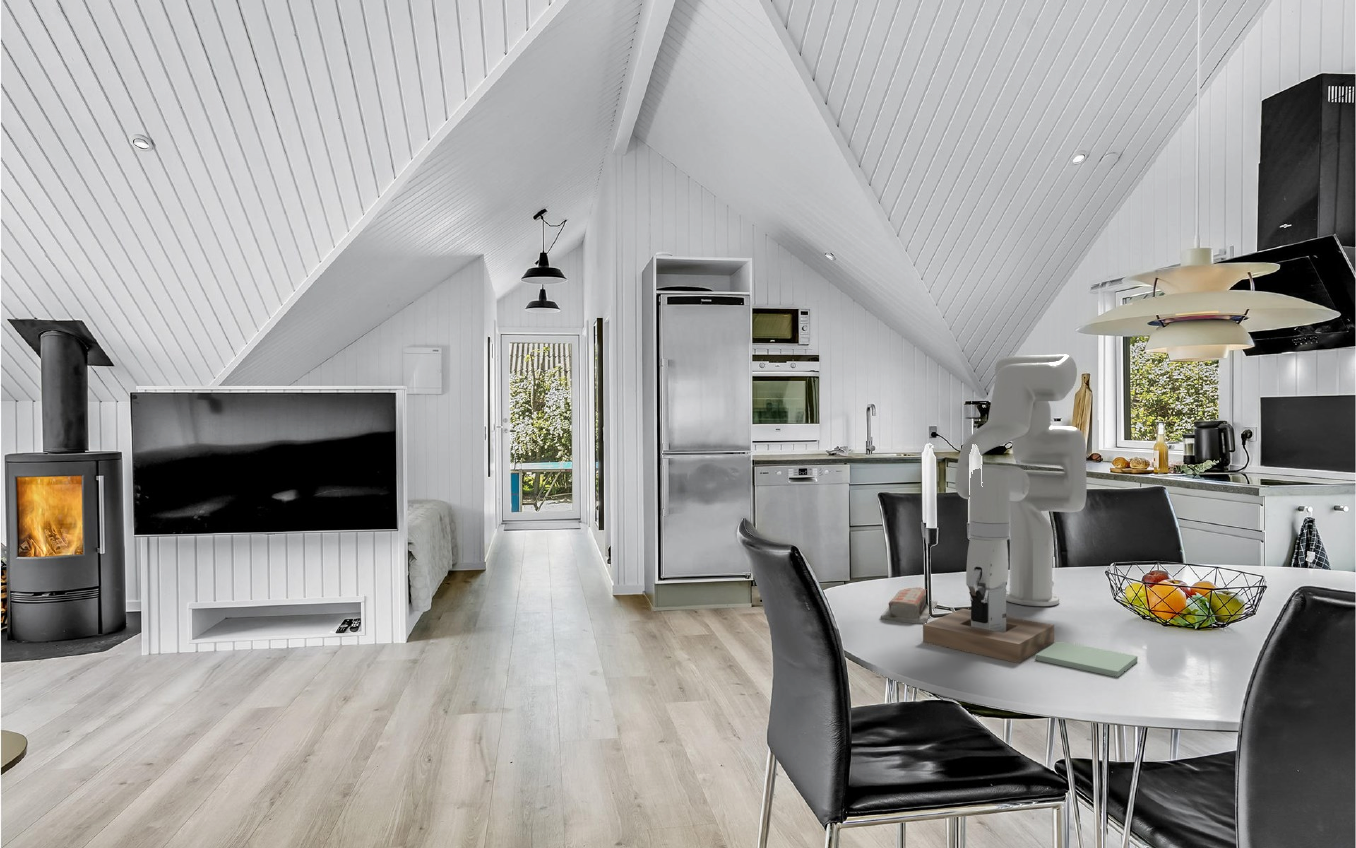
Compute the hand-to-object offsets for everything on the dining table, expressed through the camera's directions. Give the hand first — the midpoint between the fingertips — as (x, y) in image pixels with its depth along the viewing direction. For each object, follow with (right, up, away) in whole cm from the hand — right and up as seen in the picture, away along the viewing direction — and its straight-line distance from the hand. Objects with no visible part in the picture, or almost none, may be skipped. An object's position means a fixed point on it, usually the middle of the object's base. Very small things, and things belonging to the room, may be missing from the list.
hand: (988, 617), depth 162 cm
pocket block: (0, -5, 0) cm, 5 cm away
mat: (+14, -5, -12) cm, 19 cm away
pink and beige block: (-9, -5, +24) cm, 26 cm away
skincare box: (0, -5, 0) cm, 5 cm away
